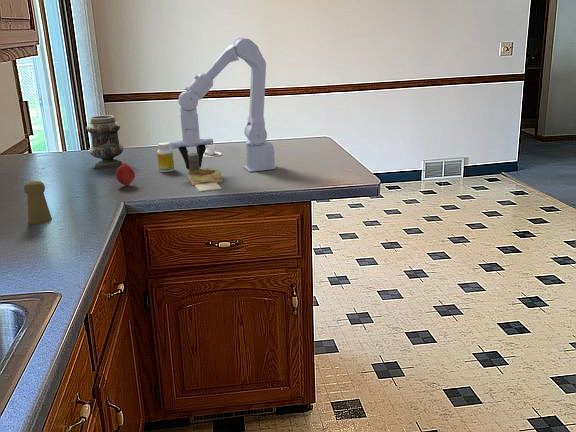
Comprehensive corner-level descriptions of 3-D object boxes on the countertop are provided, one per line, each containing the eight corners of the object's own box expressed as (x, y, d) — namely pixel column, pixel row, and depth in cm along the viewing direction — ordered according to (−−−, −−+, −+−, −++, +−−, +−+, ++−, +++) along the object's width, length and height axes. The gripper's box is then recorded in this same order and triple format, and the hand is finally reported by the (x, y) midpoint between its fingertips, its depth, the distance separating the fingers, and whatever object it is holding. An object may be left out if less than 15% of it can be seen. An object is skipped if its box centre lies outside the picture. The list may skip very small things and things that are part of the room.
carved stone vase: (123, 159, 230) (118, 112, 224) (126, 166, 219) (120, 117, 213) (91, 162, 226) (84, 115, 221) (91, 170, 216) (84, 120, 210)
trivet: (216, 183, 193) (216, 182, 192) (221, 189, 186) (221, 187, 186) (195, 186, 190) (194, 184, 190) (199, 191, 184) (199, 190, 184)
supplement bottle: (170, 172, 208) (168, 145, 205) (156, 172, 209) (153, 145, 206) (176, 168, 213) (174, 141, 210) (162, 168, 214) (159, 141, 211)
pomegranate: (119, 189, 190) (116, 165, 187) (115, 185, 195) (112, 161, 192) (137, 186, 192) (134, 162, 190) (133, 182, 197) (130, 159, 194)
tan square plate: (216, 174, 203) (216, 172, 203) (223, 181, 194) (223, 179, 194) (187, 178, 200) (187, 175, 200) (192, 185, 191) (192, 183, 191)
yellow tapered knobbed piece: (32, 217, 165) (25, 179, 162) (54, 216, 166) (48, 178, 162) (25, 225, 160) (17, 185, 156) (48, 223, 160) (41, 184, 156)
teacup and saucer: (201, 153, 238) (200, 143, 236) (221, 152, 238) (221, 142, 237) (201, 158, 229) (200, 147, 228) (221, 157, 230) (221, 146, 229)
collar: (216, 172, 203) (216, 167, 202) (223, 179, 194) (222, 174, 193) (187, 175, 200) (186, 170, 199) (192, 183, 191) (192, 177, 190)
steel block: (198, 172, 207) (196, 152, 204) (200, 175, 204) (198, 154, 201) (188, 173, 206) (186, 153, 203) (190, 176, 203) (188, 156, 200)
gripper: (209, 124, 205) (212, 162, 210) (166, 128, 201) (170, 167, 205) (213, 127, 199) (216, 167, 203) (169, 131, 195) (173, 172, 199)
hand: (193, 167), depth 204 cm, fingers closed on steel block, 3 cm apart
